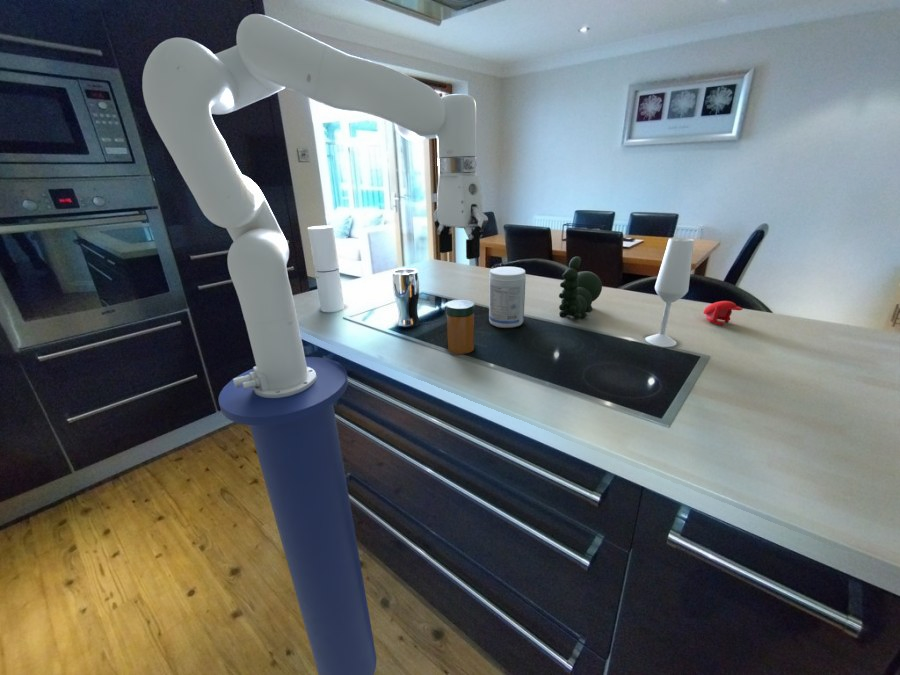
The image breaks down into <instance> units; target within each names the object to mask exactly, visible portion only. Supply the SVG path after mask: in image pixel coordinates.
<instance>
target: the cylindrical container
mask: <svg viewBox="0 0 900 675" xmlns="http://www.w3.org/2000/svg"><path fill="white" fill-rule="evenodd" d="M307 233H308V239H309V244H310V245H309V246H310V251H311V258H312V264H313V271H314V276H315V282H316V288H317V294H318V300H319V305H320V311H321V312H323V313H336V312H340V311H343V310H344V309H345V302H344V297H343V295H344V294H343V288H342V281H341V273H340V267H339V259H338V252H337V245H336V238H335V231H334V226H333V225H314V226H308V227H307Z"/></svg>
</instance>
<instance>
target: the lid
mask: <svg viewBox="0 0 900 675" xmlns="http://www.w3.org/2000/svg"><path fill="white" fill-rule="evenodd" d="M444 309H445V310H444V311H445V315H446V314H448V315H450V316H455V317H464V316H469V315H472V314H473V313H474V314H475V311H476V305H475V302H474V301H472V300H468V299H453V300H448V301H447V302H445V307H444Z"/></svg>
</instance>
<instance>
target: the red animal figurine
mask: <svg viewBox="0 0 900 675" xmlns="http://www.w3.org/2000/svg"><path fill="white" fill-rule="evenodd" d="M733 311H743V308H742V307H741V306H740V305H739V306H738V305H737V304H736V303H735V302H733V301H730V300H720V301H716V302H713V303H711V304H709V305H707V306H706V307H705V308H704V310H703V312H702V313H703V315H705V318H706V321H708V322H709V323H712V324H715V325H718V326H723V325H724V322H725V323H729V321H731V315H732V314H733ZM719 320H720V321H719ZM723 321H724V322H723Z"/></svg>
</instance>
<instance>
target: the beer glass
mask: <svg viewBox="0 0 900 675" xmlns="http://www.w3.org/2000/svg"><path fill="white" fill-rule="evenodd" d="M392 291H393V296H394V300H395V303H396V308H397V314H398V318H397V326H398V327H399V328H402V329H412V328H416V327H418V326H420V323H421V322H420V319H419V314H418V309H419V308H418V306H419V298H420V281H419V274H418V269H416V268H406V267H405V268H399V269H398V268H397V269H394V270H392Z"/></svg>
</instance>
